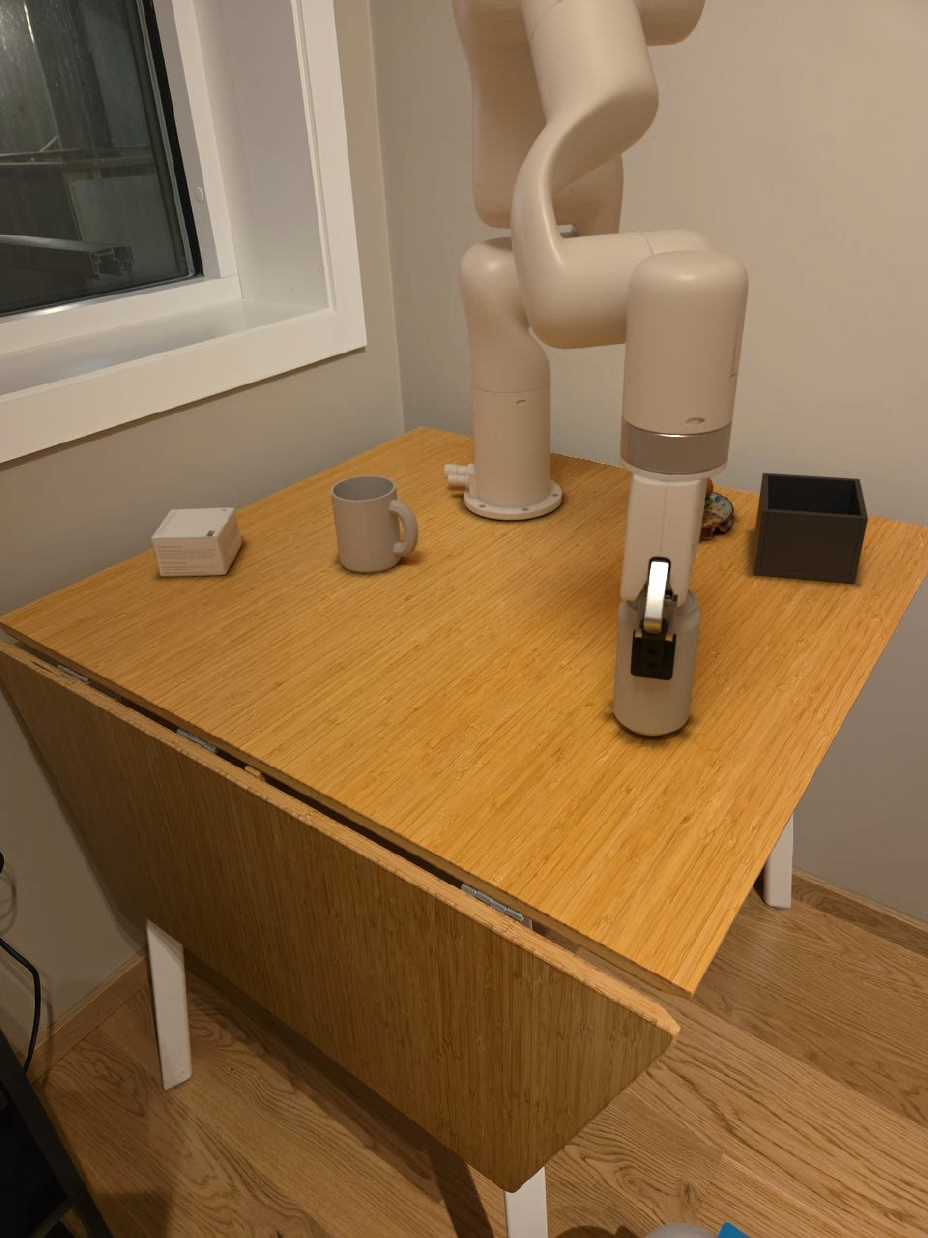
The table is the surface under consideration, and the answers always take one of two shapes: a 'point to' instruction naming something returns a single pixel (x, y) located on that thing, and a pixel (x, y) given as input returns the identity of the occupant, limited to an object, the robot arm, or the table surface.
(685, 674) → the beverage can
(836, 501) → the bin
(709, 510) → the burger on plate
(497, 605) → the table surface
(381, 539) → the cup
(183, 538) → the small box
